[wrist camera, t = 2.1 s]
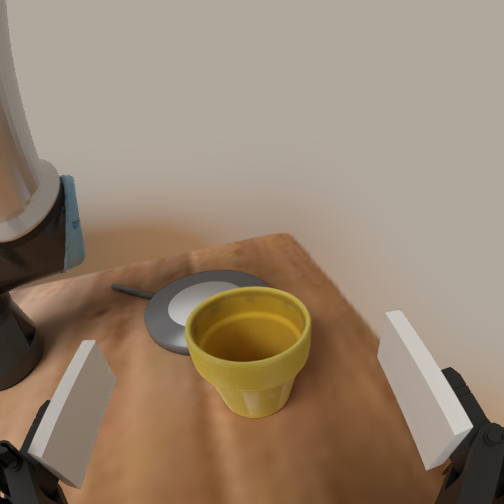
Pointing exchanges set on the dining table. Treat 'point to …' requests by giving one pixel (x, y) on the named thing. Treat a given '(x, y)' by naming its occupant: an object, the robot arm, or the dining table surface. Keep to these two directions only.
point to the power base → (185, 303)
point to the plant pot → (250, 346)
